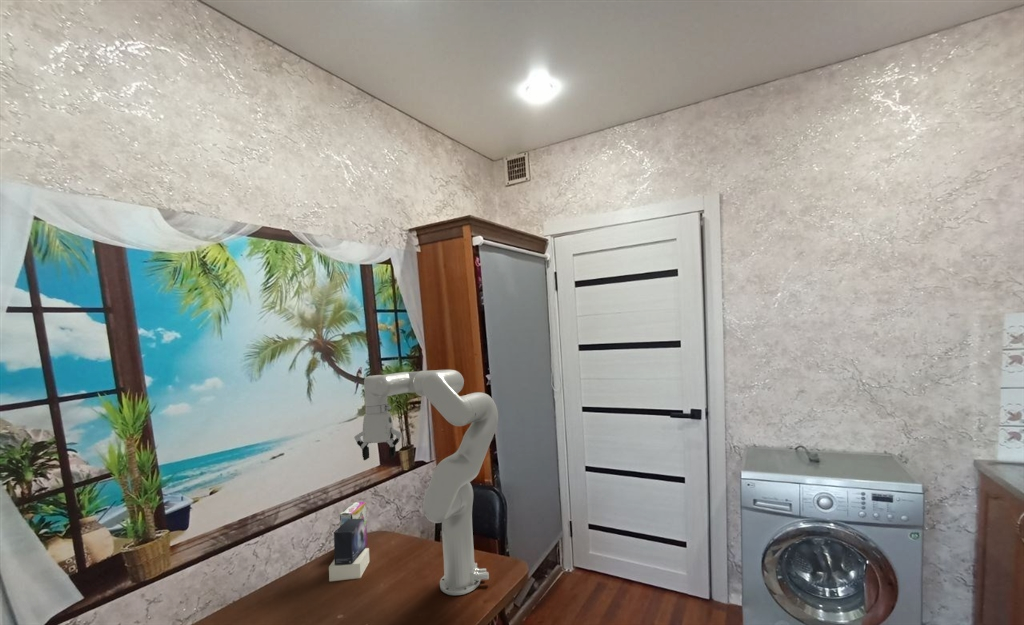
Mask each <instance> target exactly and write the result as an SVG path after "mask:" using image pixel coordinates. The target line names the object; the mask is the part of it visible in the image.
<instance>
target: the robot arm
mask: <svg viewBox="0 0 1024 625" xmlns="http://www.w3.org/2000/svg"><path fill="white" fill-rule="evenodd" d="M363 381H364V382H363V383H364V384H363V387H364V404H365V414H364V415H363V422H362V431H361V432H359V433H358V434H356V435H355V436H354V440H355V441H356V444H357V445H358V446H359V447H360V449H361V451H362V458H363V459H362V460H363V461H367V460H368V459H370V448H369V446H368V445H369V444H377V443H378V444H379V443H386V444H388V445H389V448H388V454H389V455H388V457H389V459H390V460H392V459H394V458H395V457H396V454H397V453H396V451H397V449H396V448H397V447H396V446H397V444H398V443H399V442H400V441H401V437H402V435H403V433H402V432H400V431H399V430H396V429H395V428H394V422H393V418H392V414H391V412H390V410H392V405H389V403H388V397H390V396H395V395H401V394H406V393H407V394H408V393H415V394H416V395H417V396H420V397H425V398H426V399H427V400H428V401H429V403H430V404H431V405H432V406H433V407H434V408H435V409H436V410H437V411H438V412H439V413H440V415H441V416H442V417H443V418H444V419H445V420H446V421H447V422H448V423H449V424H451V425H452V426H455V427H464V426H467V425H469V424H470V425H469V427H467V430H466V431H465V433H464V435H463V436H462V441H461V443H460V445H459V447H458V448H457V450H456V451H455V452H454V453H453V454H451V455H449V456H447V457H445V458H444V459H442V460H441V461H440V462H439V463H438V464H437V465H436V467H435V469H434V470H433V473H432V475H431V477H430V480H429V484H428V487H427V488H426V491H425V493H424V496H423V502H422V509H423V510H422V511H423V514H424V517H425V518H426V519H427V520H428V521H429V522H431V523H433V524H440V523H441V536H442V537H441V538H442V553H443V572H444V573H443V574H444V575H443V576H442V577H441V578H440V580H439V588H440V591H441V592H443V593H444V594H446V595H448V596H462V595H466V594H469V593H471V592H472V591H474V590H475V589H477V588H478V587H479V585H480V584H481V581H482V580H489V578H490V576H489V575H490V574H489V571H487V568H480V567H478V562H475V548H474V535H473V532H474V531H473V530H474V529H473V503H474V490H473V486H472V483H471V482H472V481H473V480H474V479H476V478H477V476H478V475H479V473H480V471H481V468H482V465H483V463H484V460H485V458H486V455H487V453H488V450H489V447H490V445H491V442H492V440H493V438H494V435H495V433H496V431H497V428H498V424H499V422H498V421H499V411H498V408H497V404H496V403H495V401H494V399H493V398H492V397H491V396H490V395H489V394H487V393H485V392H480V391H479V392H471V393H468V394H466V395H464V394H463V395H459V393H460V392H461V391H462V390H463V388H464V385H465V383H464V382H465V379H464V377H463V375H462V373H460V371H458V370H455V369H437V370H434V369H432V370H431V369H430V370H419V371H402V372H394V373H387V374H376V375H374V374H373V375H369V376H366V377H365V378H364V379H363ZM395 436H396V437H395ZM361 437H362V439H361ZM394 438H395V439H394Z"/></svg>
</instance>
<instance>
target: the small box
mask: <svg viewBox="0 0 1024 625" xmlns="http://www.w3.org/2000/svg"><path fill="white" fill-rule="evenodd" d="M333 541H334V542H333V547H334V548H333V550H334V559H335V565H337V564H352V563H353V562H354V561H355V560H356V558H357V557H358V556H359V555H360V554H361V553H362V551H363V550H364V549H365V548H366V547H365V529H364V519H348V520H347V521H346V522H344V523H343V524H342V525H341V526H340V525H339V527H338V528H337V529H336V530H334V531H333Z"/></svg>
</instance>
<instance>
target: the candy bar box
mask: <svg viewBox="0 0 1024 625" xmlns="http://www.w3.org/2000/svg"><path fill="white" fill-rule="evenodd" d="M348 519H364V529H365V548H367V545H368V535H367V529H368V528H367V502H366V501H357V502H356V501H355V502H353V503H352V504H351V505H350V506H348V507H347V508H346V509H344V510H343V511H342V512H340V513H339V527H340V526H341V525H342V524H343V523H344V522H346V521H347V520H348Z"/></svg>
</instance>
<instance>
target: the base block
mask: <svg viewBox="0 0 1024 625" xmlns="http://www.w3.org/2000/svg"><path fill="white" fill-rule="evenodd" d="M369 563H370V548H369V547H365V549H364V550H363V551H362V553H361V554H360V555H359V556H358V557H357V558H356V560H355V561H354V562H353V563H352V564H337V565H335V558H334V559H333V560H332V562H331V563H330V565H329V566H328V576H329V578H328V581H329V582H337V581H345V580H347V581H348V580H355V579H361V578H362V576H363V574H364V572H365V571H366V569H367V567H368V565H369Z"/></svg>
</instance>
